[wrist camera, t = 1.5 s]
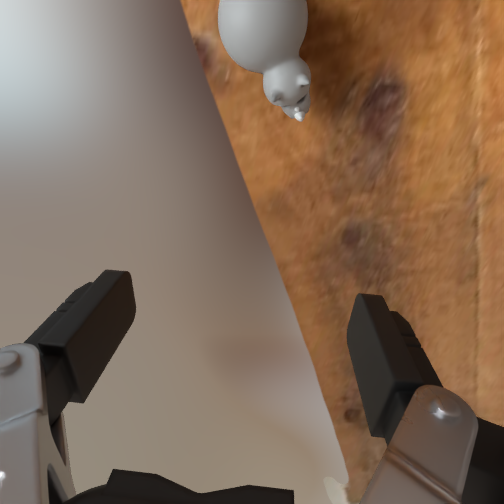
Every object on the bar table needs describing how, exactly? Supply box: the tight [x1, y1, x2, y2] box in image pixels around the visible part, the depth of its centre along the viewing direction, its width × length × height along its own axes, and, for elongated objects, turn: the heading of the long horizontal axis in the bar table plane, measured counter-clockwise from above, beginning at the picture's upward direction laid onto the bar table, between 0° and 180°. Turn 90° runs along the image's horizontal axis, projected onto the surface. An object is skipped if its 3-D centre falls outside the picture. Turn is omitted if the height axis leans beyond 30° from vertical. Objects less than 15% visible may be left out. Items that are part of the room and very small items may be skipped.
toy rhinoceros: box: [218, 0, 311, 122], centre depth 27 cm, size 7×12×8 cm, turn 25°
